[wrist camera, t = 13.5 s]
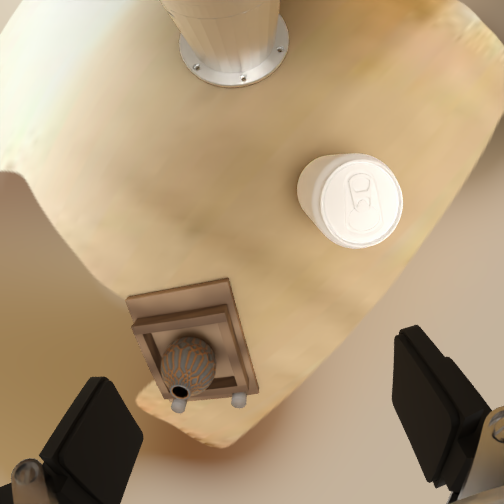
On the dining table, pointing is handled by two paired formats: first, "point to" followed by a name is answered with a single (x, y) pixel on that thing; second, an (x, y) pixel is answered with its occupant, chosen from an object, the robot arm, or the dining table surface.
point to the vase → (188, 367)
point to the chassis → (196, 336)
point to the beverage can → (351, 198)
